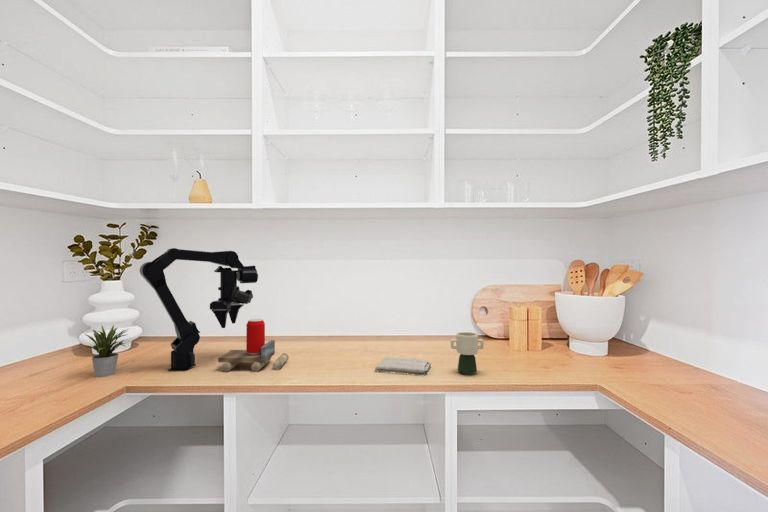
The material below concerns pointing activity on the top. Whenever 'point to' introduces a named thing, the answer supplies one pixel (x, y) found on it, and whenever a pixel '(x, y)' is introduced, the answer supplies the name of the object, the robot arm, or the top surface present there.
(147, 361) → the top surface
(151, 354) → the top surface
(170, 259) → the robot arm
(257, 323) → the beverage can
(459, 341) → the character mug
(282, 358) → the roller
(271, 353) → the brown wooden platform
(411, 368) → the washcloth
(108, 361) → the house plant
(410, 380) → the top surface
